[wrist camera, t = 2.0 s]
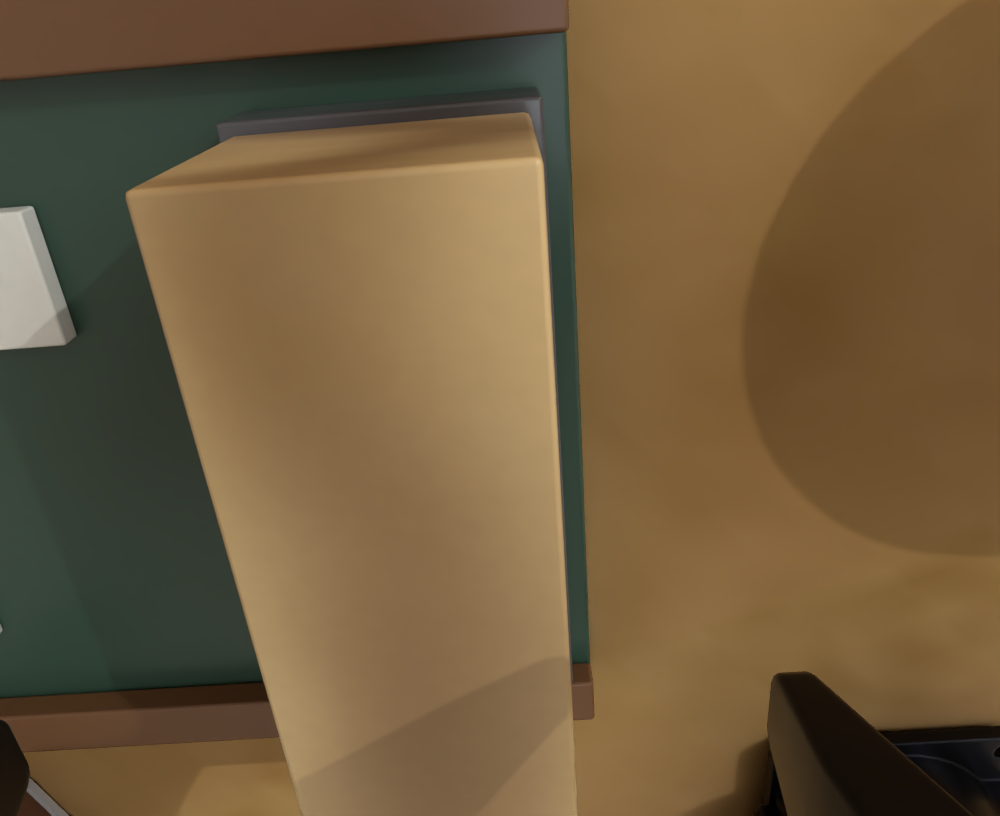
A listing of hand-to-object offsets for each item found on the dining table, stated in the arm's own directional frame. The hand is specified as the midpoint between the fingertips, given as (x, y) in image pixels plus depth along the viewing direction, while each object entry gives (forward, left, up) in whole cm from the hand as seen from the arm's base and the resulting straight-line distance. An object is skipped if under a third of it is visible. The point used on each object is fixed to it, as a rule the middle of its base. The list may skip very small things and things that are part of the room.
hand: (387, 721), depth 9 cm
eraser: (0, 0, -8) cm, 8 cm away
